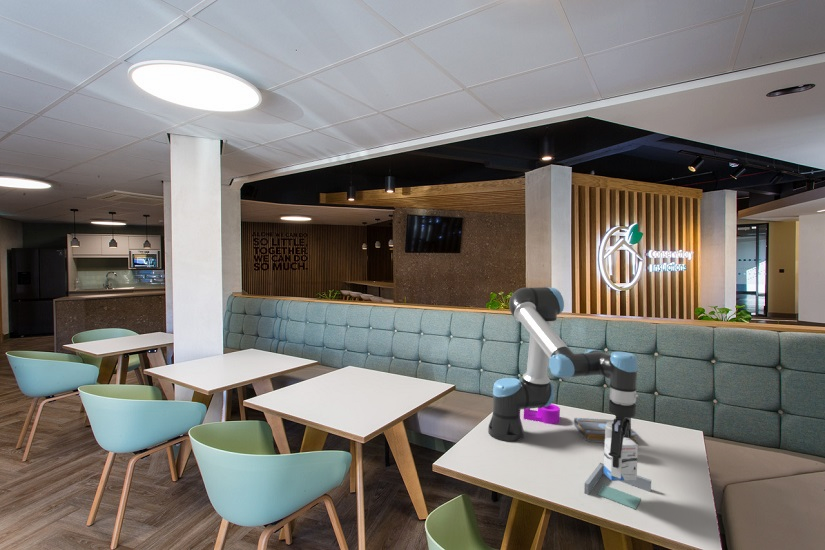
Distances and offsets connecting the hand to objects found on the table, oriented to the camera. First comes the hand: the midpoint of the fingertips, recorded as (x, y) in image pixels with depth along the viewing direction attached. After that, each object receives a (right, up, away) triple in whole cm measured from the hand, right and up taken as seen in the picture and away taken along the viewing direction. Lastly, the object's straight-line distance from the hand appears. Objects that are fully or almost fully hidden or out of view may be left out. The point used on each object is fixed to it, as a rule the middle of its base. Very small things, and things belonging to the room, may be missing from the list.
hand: (620, 470), depth 126 cm
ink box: (0, -2, 0) cm, 2 cm away
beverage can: (+13, -8, +29) cm, 32 cm away
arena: (+1, -9, +3) cm, 10 cm away
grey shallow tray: (+18, -8, +46) cm, 50 cm away
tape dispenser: (-5, -7, +62) cm, 62 cm away
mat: (0, -9, +1) cm, 9 cm away
